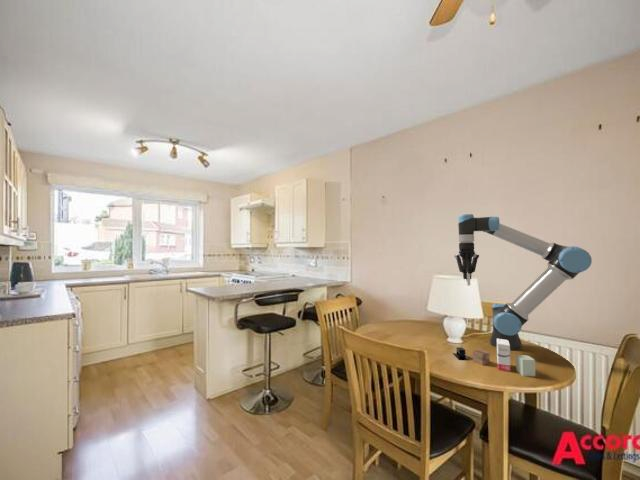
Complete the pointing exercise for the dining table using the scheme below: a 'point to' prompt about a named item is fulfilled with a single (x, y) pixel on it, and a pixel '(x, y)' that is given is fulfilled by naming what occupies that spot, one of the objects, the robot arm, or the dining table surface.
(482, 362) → the walnut cube
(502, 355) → the ink box
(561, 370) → the dining table surface
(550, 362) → the dining table surface
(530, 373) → the sage block
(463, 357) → the black bracket plate
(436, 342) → the dining table surface
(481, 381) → the dining table surface
